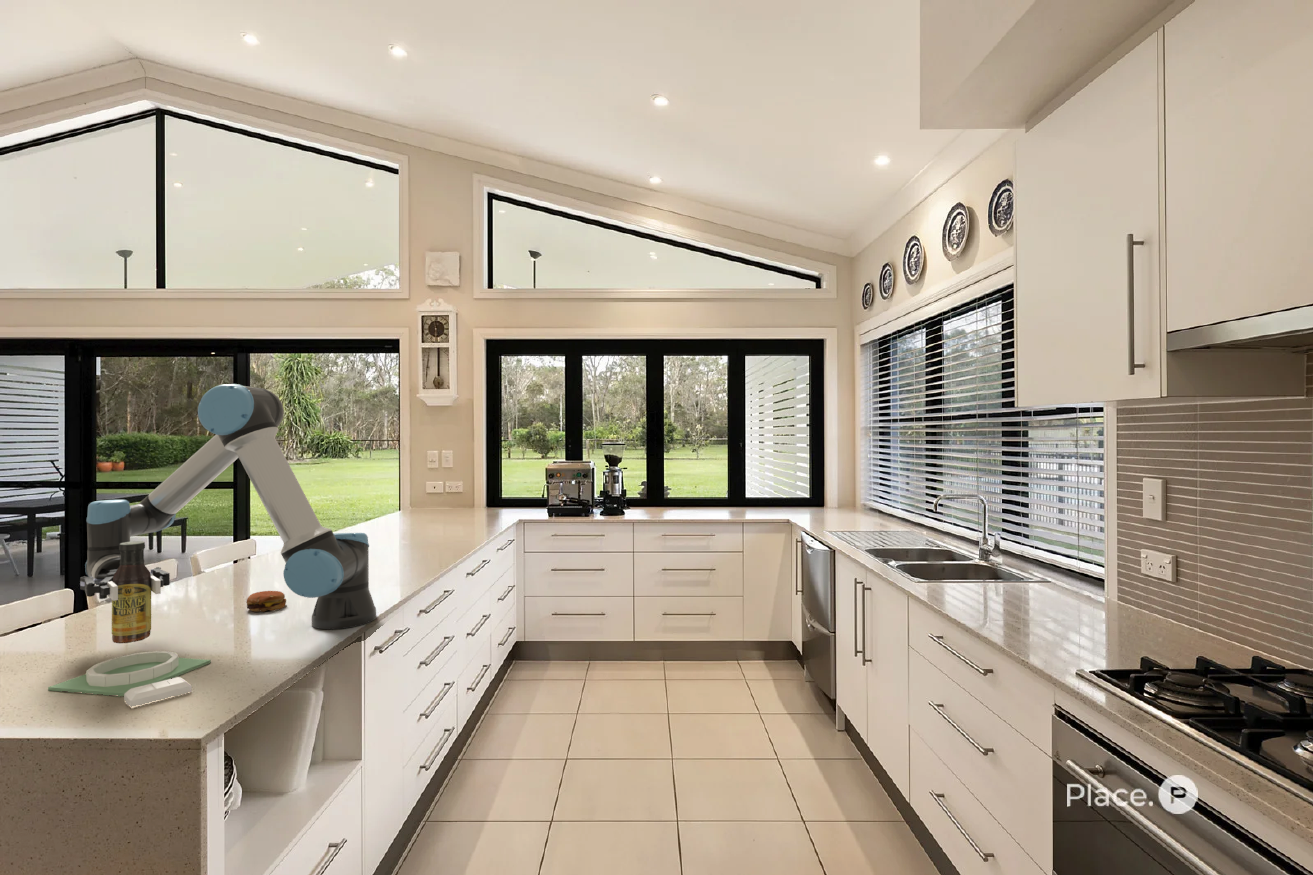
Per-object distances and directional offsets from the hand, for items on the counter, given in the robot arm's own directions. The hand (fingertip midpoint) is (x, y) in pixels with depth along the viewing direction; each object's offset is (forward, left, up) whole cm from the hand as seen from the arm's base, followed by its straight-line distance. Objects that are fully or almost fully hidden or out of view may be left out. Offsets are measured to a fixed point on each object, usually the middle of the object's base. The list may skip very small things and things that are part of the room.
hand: (137, 590), depth 126 cm
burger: (+17, -51, -18) cm, 56 cm away
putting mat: (+3, -2, -18) cm, 18 cm away
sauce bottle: (+4, -3, -11) cm, 12 cm away
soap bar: (-12, +6, -19) cm, 23 cm away
